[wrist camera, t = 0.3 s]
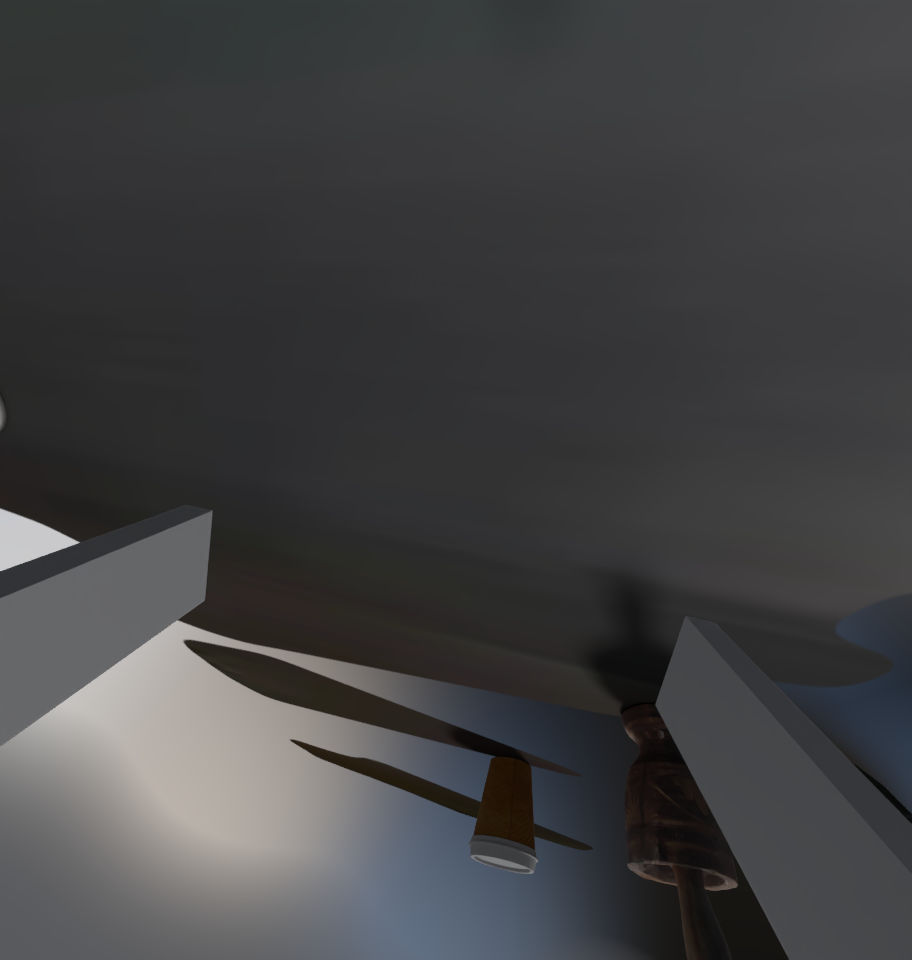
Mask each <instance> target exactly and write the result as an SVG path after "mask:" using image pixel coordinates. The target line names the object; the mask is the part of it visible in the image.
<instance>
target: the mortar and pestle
mask: <svg viewBox="0 0 912 960" xmlns="http://www.w3.org/2000/svg"><path fill="white" fill-rule="evenodd" d="M622 722H623V726H624V728H625V730H626V732H627V733H628V735H629V736H630V737H631V739H633V740H634V741H635V742H636V743H637V744H638V745H639V749H640V755H639V757H638V758H637V760H636V761H635V762H634V763H633V764H632V765H631V767H630V770H629V773H628V777H627V782H626V790H625V826H626V843H627V863H628V867H629V869H630V870H632V871H633V872H635V873H636V874H639V876H641V877H644V878H645V879H652V880H654V881H658V882H661V883H667V884H672V885H677V886H678V893H679V899H680V905H681V914H682V925H683V933H684V939H685V946H686V953H687V957H688V960H732V958H731V954H730V951H729V948H728V946H727V943H726V940H725V938H724V936H723V933H722V931H721V928H720V926H719V923H718V921H717V919H716V917H715V915H714V913H713V910H712V907H711V904H710V901H709V898H708V895H707V893H706V890H705V889H708V890H712V891H717V890H723V889H730V888H736V887H737V885H738V881H737V876H736V871H735V867H734V861H733V857H732V853H731V850H730V847H729V844H728V842H727V840H726V838H725V836H724V835H723V833H722V831H721V829H720V827H719V825H718V823H717V821H716V819H715V817H714V816H713V814H712V812H711V810H710V808H709V806H708V804H707V802H706V800H705V798H704V797H703V795H702V793H701V791H700V789H699V787H698V785H697V783H696V781H695V779H694V778H693V776H692V774H691V772H690V770H689V768H688V766H687V764H686V762H685V760H684V759H683V757H682V755H681V753H680V751H679V749H678V747H677V745H676V743H675V741H674V740H673V738H672V736H671V734H670V732H669V730H668V728H667V726H666V724H665V722H664V721H663V719H662V717H661V715H660V713H659V711H658V709H657V707H656V705H654V704H642V705H638V706H634V707H631V708H629V709H627V710H625V711H624V712H623V714H622Z"/></svg>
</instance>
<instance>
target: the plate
mask: <svg viewBox="0 0 912 960" xmlns="http://www.w3.org/2000/svg"><path fill="white" fill-rule="evenodd" d="M6 421H7V411H6V407H5V403H4V401H3V398H2V396H1V394H0V431H1V430H2V429H3V428H4V426H5V425H6Z"/></svg>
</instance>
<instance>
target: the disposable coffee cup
mask: <svg viewBox="0 0 912 960" xmlns="http://www.w3.org/2000/svg"><path fill="white" fill-rule="evenodd" d="M469 845H470V848H471V858H473V859H474V860H476V861H478V862H481V863H483V864H486V865H489V866H492V867H495V868H499V869H503V870H507V871H512V872H517V873H524V874H532V873H533V872H534V869H535V864H536V862H538V858H537V857H536V852H535V842H534V818H533V796H532V775H531V766H530V765H528V764H527V763H525V762H523V761H521V760H518V759H514V758H509V757H495V758H492V759H491V762H490V767H489V771H488V775H487V780H486V783H485V788H484V792H483V796H482V801H481V805H480V809H479V813H478V817H477V822H476V826H475V831H474V835H473V836H472V838H471V841H470V842H469Z"/></svg>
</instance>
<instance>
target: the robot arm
mask: <svg viewBox="0 0 912 960" xmlns="http://www.w3.org/2000/svg"><path fill="white" fill-rule="evenodd" d="M211 522H212V511H211V510H207V509H202V508H198V507H193V506H189V505H184V506H182V507H179V508H176V509H173V510H170V511H168V512H165V513H162V514H159V515H156V516H154V517H151V518H148V519H145V520H143V521H140V522H137V523H134V524H131V525H129V526H126V527H123V528H120V529H117V530H115V531H112V532H109V533H106V534H103V535H101V536H98V537H95V538H92V539H90V540H87V541H84V542H81V543H78V544H76V545H73V546H70V547H67V548H65V549H62V550H59V551H56V552H53V553H50V554H48V555H45V556H42V557H39V558H37V559H34V560H31V561H28V562H25V563H23V564H20V565H17V566H14V567H12V568H9V569H6V570H3V571H0V746H1V745H3V744H4V743H6V742H7V741H9V740H10V739H11V738H13V737H14V736H15V735H17V734H18V733H20V732H21V731H23V730H24V729H25V728H27V727H28V726H30V725H31V724H32V723H34V722H35V721H37V720H38V719H39V718H41V717H42V716H43V715H45V714H46V713H48V712H49V711H50V710H52V709H53V708H55V707H56V706H57V705H59V704H60V703H62V702H63V701H65V700H66V699H67V698H69V697H70V696H72V695H73V694H74V693H76V692H77V691H78V690H80V689H81V688H83V687H84V686H86V685H87V684H88V683H90V682H91V681H93V680H94V679H95V678H97V677H98V676H100V675H101V674H102V673H104V672H105V671H106V670H108V669H109V668H111V667H112V666H114V665H115V664H116V663H118V662H119V661H121V660H122V659H123V658H125V657H126V656H128V655H129V654H130V653H132V652H133V651H134V650H136V649H137V648H139V647H140V646H142V645H143V644H144V643H146V642H147V641H149V640H150V639H151V638H153V637H154V636H156V635H157V634H158V633H160V632H161V631H163V630H164V629H165V628H167V627H168V626H170V625H171V624H172V623H174V622H175V621H177V620H178V619H179V618H181V617H182V616H184V615H185V614H186V613H188V612H189V611H191V610H192V609H193V608H195V607H196V606H198V605H199V604H200V603H202V602H203V601H205V592H206V580H207V569H208V557H209V545H210V533H211ZM655 705H656V707H657V709H658V711H659V713H660V715H661V717H662V719H663V721H664V722H665V724H666V726H667V728H668V730H669V732H670V734H671V736H672V738H673V740H674V741H675V743H676V745H677V747H678V749H679V751H680V753H681V755H682V757H683V759H684V760H685V762H686V764H687V766H688V768H689V770H690V772H691V774H692V776H693V778H694V779H695V781H696V783H697V785H698V787H699V789H700V791H701V793H702V795H703V797H704V798H705V800H706V802H707V804H708V806H709V808H710V810H711V812H712V814H713V816H714V817H715V819H716V821H717V823H718V825H719V827H720V829H721V831H722V833H723V835H724V836H725V838H726V840H727V842H728V844H729V846H730V848H731V850H732V852H733V853H734V855H735V857H736V859H737V861H738V863H739V865H740V867H741V868H742V871H743V872H744V874H745V876H746V878H747V880H748V882H749V884H750V886H751V888H752V890H753V891H754V893H755V895H756V897H757V899H758V901H759V903H760V905H761V907H762V909H763V910H764V912H765V914H766V916H767V918H768V920H769V922H770V924H771V926H772V928H773V929H774V931H775V933H776V935H777V937H778V939H779V941H780V943H781V944H782V947H783V948H784V950H785V952H786V954H787V956H788V958H789V960H912V814H911V813H910V812H909V811H908V810H907V809H906V808H905V807H904V806H903V805H902V804H901V803H900V802H899V801H898V800H897V799H896V798H895V797H894V796H893V795H892V794H891V793H890V792H889V791H888V790H887V789H886V788H885V787H884V786H883V785H882V784H880V783H879V782H878V781H876V780H875V779H874V778H872V777H871V776H870V775H868V774H867V773H866V772H864V771H863V770H862V769H860V768H859V767H858V766H857V765H855V764H854V763H852V762H851V761H850V760H849V759H848V758H847V757H846V756H845V755H844V754H843V753H842V752H841V751H840V750H839V749H838V748H837V747H836V746H835V745H834V744H833V743H832V742H831V741H830V740H829V739H828V738H827V737H826V736H825V735H824V734H823V733H822V732H821V731H820V730H819V729H818V728H817V727H816V726H815V725H814V724H813V723H812V722H811V721H810V720H809V718H808V717H807V716H806V715H805V714H804V713H803V712H802V711H801V710H800V709H799V708H798V707H797V706H796V705H795V704H794V703H793V702H792V701H791V700H790V699H789V698H788V697H787V696H786V695H785V694H784V693H783V692H782V691H781V690H780V689H779V688H778V687H777V686H776V685H775V684H774V683H773V682H772V681H771V680H770V679H769V678H768V677H767V676H766V675H765V674H764V673H763V671H762V670H761V669H760V668H759V667H758V666H757V665H756V664H755V663H754V662H753V661H752V660H751V659H750V658H749V657H748V656H747V655H746V654H745V653H744V652H743V651H742V650H741V649H740V648H739V647H738V646H737V645H736V644H735V643H734V642H733V641H732V640H731V639H730V638H729V637H728V636H727V635H726V634H725V633H724V632H723V631H722V630H721V629H720V628H719V627H718V625H717V624H716V623H715V622H710V621H706V620H701V619H697V618H692V617H688V616H685V619H684V622H683V625H682V628H681V631H680V634H679V637H678V640H677V643H676V646H675V648H674V651H673V654H672V657H671V660H670V663H669V666H668V669H667V672H666V675H665V678H664V680H663V683H662V686H661V689H660V692H659V695H658V698H657V701H656V704H655Z"/></svg>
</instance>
